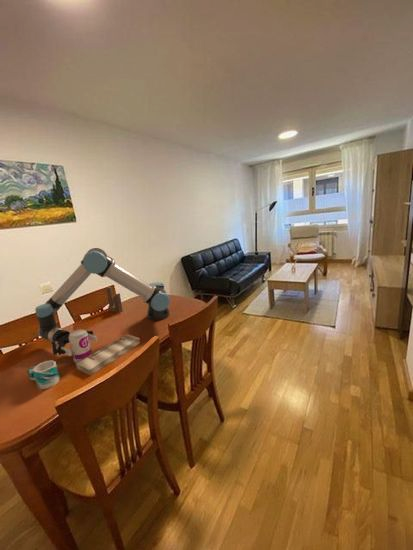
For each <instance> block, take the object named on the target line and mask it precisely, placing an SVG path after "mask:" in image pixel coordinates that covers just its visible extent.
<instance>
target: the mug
mask: <svg viewBox="0 0 413 550" xmlns="http://www.w3.org/2000/svg"><path fill="white" fill-rule="evenodd" d="M26 370H27V374H28V377H29V380H30V381H35V383H36V385H37V388H38V389H39V390H46V388H47V389H49V387H50V388H52V387H54V386H56V385H57V384H58V383H59V382H60V380H61V377H60V375H59V371H58V366H57V363H56V361H54V360H51V359H50V360H45V361H44V362H40V363H38V364H37V365H35V366H33V365H32V366H31V367H29V368H28V369H26ZM51 386H52V387H51Z"/></svg>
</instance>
